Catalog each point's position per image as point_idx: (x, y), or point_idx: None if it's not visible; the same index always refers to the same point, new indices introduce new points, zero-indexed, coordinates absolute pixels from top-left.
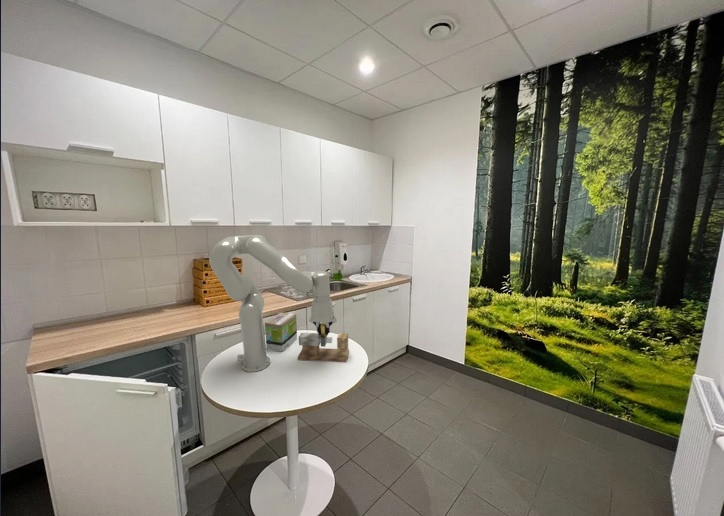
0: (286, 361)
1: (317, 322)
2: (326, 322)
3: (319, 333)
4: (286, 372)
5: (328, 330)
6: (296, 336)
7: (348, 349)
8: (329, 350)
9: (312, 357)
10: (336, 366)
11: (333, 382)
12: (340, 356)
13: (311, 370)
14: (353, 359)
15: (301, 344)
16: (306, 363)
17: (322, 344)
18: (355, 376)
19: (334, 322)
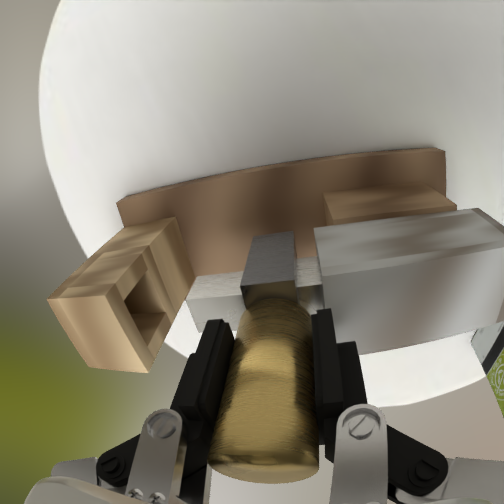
0: (482, 124)
1: (357, 496)
2: (120, 494)
3: (314, 327)
4: (430, 13)
5: (185, 378)
6: (477, 348)
7: None
8: None
9: (345, 161)
10: (155, 135)
11: (116, 7)
12: (157, 220)
13: (293, 44)
14: (108, 233)
15: (467, 213)
16: (366, 114)
17: (275, 242)
18: (47, 101)
19: (76, 464)
